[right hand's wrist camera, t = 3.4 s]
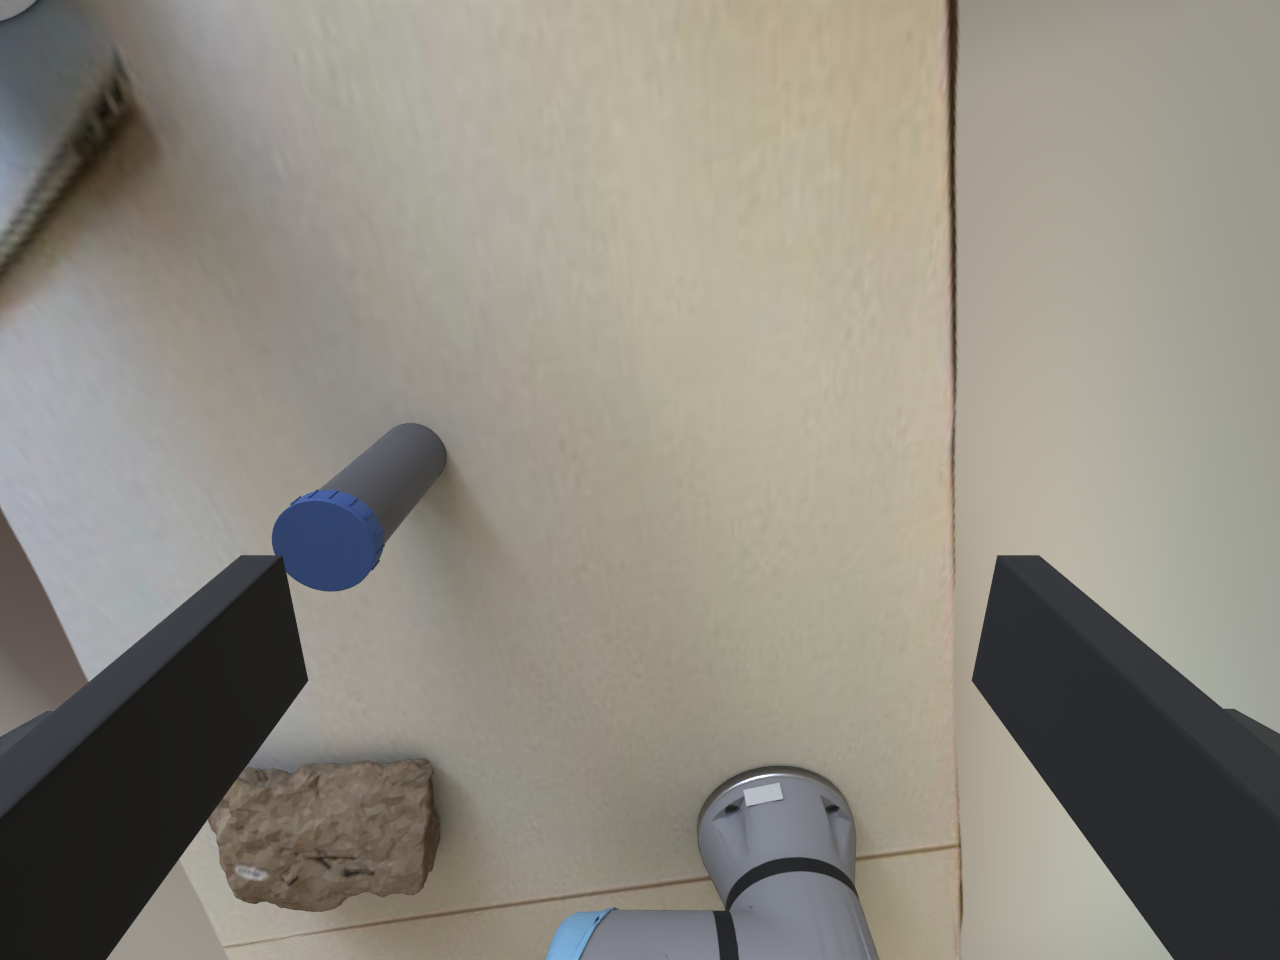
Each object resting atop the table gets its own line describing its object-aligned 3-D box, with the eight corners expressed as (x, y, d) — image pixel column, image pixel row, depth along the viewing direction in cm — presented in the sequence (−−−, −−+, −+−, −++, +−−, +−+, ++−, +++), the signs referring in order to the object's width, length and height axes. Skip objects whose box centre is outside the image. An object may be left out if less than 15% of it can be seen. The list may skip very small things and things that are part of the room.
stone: (219, 890, 67) (190, 939, 61) (209, 747, 65) (178, 783, 59) (442, 868, 70) (435, 912, 64) (439, 732, 68) (432, 764, 63)
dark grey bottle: (454, 438, 54) (381, 522, 39) (435, 493, 56) (357, 594, 40) (392, 413, 53) (293, 489, 38) (374, 469, 55) (272, 564, 40)
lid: (396, 511, 40) (387, 523, 38) (369, 591, 42) (359, 605, 40) (298, 474, 39) (284, 484, 38) (275, 557, 41) (260, 570, 39)
